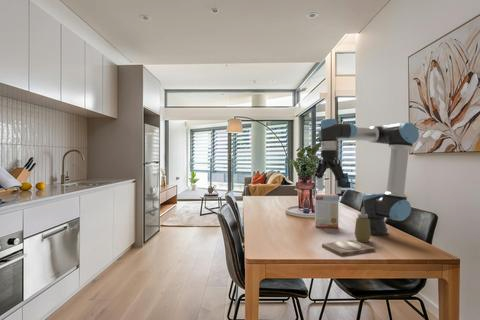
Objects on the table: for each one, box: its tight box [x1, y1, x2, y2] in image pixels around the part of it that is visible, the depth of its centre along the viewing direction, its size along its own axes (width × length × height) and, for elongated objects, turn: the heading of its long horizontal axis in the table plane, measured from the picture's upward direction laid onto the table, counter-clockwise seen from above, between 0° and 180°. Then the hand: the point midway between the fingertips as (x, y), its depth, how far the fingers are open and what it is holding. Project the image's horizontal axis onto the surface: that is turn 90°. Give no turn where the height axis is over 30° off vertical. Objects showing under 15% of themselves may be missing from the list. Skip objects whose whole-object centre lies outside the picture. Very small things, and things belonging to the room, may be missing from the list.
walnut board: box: [321, 239, 376, 257], centre depth 138 cm, size 20×14×2 cm
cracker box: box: [314, 193, 339, 229], centre depth 181 cm, size 14×6×21 cm, turn 84°
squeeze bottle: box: [354, 206, 372, 243], centre depth 151 cm, size 8×8×18 cm
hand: (329, 192), depth 142 cm, fingers open, 13 cm apart
